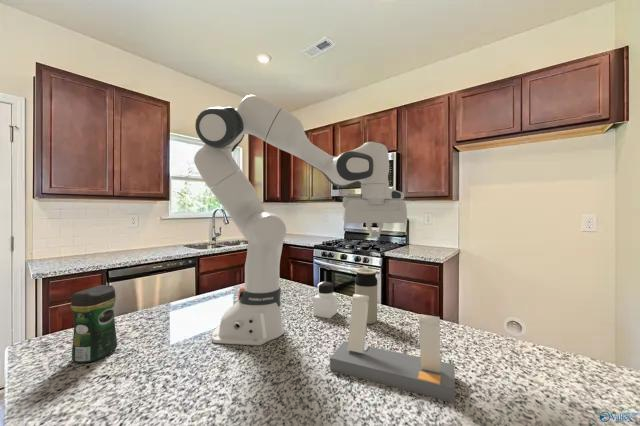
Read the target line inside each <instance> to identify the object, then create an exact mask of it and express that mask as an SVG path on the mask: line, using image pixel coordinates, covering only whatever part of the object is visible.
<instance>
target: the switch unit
mask: <svg viewBox="0 0 640 426" xmlns="http://www.w3.org/2000/svg"><path fill="white" fill-rule="evenodd" d="M347 347H348V341H345V340H344V341H342V343H341V344H340V345H339V346H338V348H337V349H336V350H335V351H334V352H333V353H332V354H331V356H330V357H329V370H330V371H332V372H336V373H341V374H344V375H348V376H352V377H356V378H359V379H364V380H367V381H370V382H374V383H379V384H381V385H386V386H390V387H393V388H397V389H400V390H404V391H408V392H412V393H416V394H420V395H424V396H427V397H431V398H434V399H439V400H443V401H446V402H449V403H453V404H455V402H456V399H455V397H456V388H455V387H456V384H455V383H456V382H455V381H456V378H455V375H456V374H455V373H456V372H455V371H456V370H455V368H456V365H455V364H456V363H455V364H454V363H450V362H445V361H441V360H440V373H438V372H434V371H429V370H425V369H421V356H416V355H412V354H408V353H402V352H397V351H394V350H389V349H384V348H379V347H374V346H370V345H369V344H366V343H365V347H364V353H360V352H355V351H351V350H347Z"/></svg>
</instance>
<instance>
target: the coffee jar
mask: <svg viewBox="0 0 640 426" xmlns="http://www.w3.org/2000/svg"><path fill="white" fill-rule="evenodd" d="M116 300H117V296H116V289H115V287H114V286H113V285H109V284H108V285H107V284H100V285H97V286H96V285H95V286H93V287H90V288H86V289H84V290H80V291H76V292H74V293H73V294H72V295H71V303H70V308H71V311H72V314H73V319H74V321H73V336H72V337H73V338H72V347H71V360H72V361H73V362H75V363H77V364H78V363H80V364H85V363H90V362H95V361H98V360H100V359H102V358H103V357H105V356H107V355H108V354H110V353H111V352H113V351H114V350H116V349H117V347H118V339H117V331H116V322H115V303H116Z"/></svg>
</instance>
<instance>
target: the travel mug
mask: <svg viewBox="0 0 640 426" xmlns="http://www.w3.org/2000/svg"><path fill="white" fill-rule="evenodd" d="M377 272H378V271H377V270H376V269H373V268H367V267H366V268H365V267H364V268H357V269H355V273H356V276H355V278H354V294H357V295H365V296H369V303H368V314H367V325H371V324H375V323H377V321H378V278H377V275H376V274H377Z"/></svg>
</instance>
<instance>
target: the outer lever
mask: <svg viewBox="0 0 640 426" xmlns="http://www.w3.org/2000/svg"><path fill="white" fill-rule="evenodd" d="M418 318H419V319H418V322H419V341H420V342H419V345H420V348H419V349H420V350H419V351H420V357H421V369H425V370H429V371H434V372H438V373H440V361H441V320H440V319H441V317H440V316H436V315H435V316H434V315H429V314H422V313H421V314H419V317H418Z"/></svg>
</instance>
